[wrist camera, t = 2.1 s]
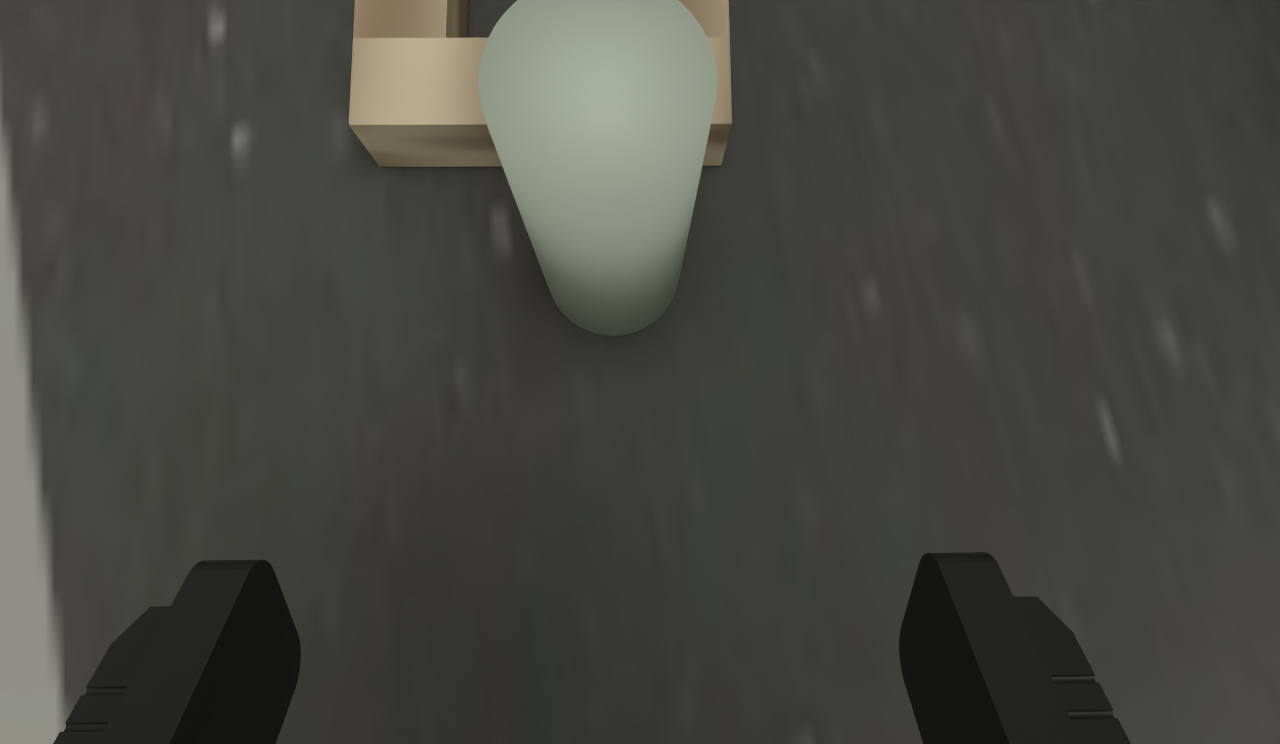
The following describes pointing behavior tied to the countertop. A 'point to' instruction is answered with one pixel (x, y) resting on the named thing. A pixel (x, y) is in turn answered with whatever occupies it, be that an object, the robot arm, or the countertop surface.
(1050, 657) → the robot arm
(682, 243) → the peg
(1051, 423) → the countertop surface
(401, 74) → the socket
